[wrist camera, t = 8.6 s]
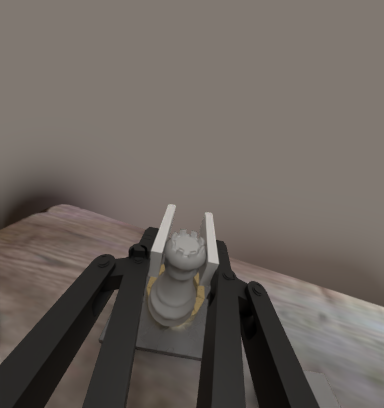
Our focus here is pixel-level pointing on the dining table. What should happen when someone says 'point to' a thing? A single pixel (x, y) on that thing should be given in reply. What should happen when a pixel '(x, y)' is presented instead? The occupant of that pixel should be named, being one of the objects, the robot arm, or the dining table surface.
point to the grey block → (320, 390)
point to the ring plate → (172, 336)
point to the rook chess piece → (177, 279)
